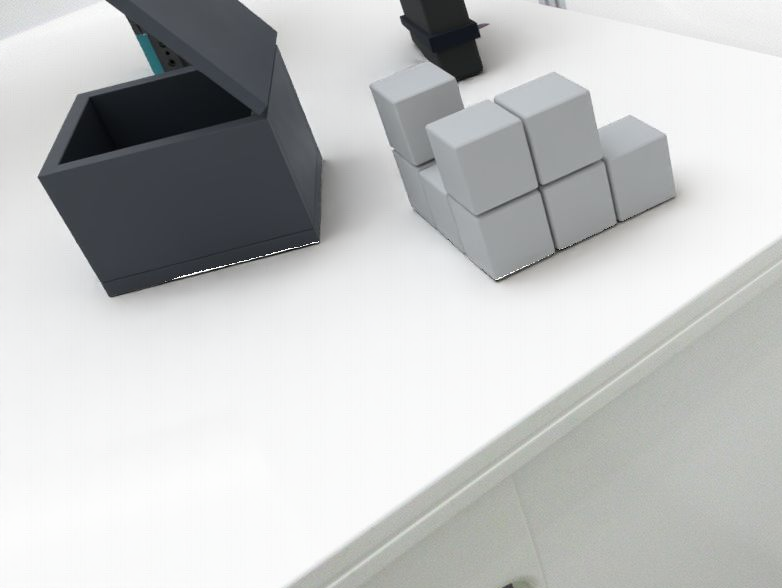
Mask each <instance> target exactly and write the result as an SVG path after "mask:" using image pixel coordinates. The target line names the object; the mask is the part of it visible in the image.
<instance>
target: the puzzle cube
mask: <svg viewBox="0 0 782 588" xmlns="http://www.w3.org/2000/svg"><path fill="white" fill-rule="evenodd" d="M369 89H370V92H371V95H372V99H373V101H374V103H375V106H376V110H377V112H378V115H379V118H380V121H381V124H382V126H383V129H384V132H385V135H386V138H387V140H388V143H389V146H390V147H391V148H392V149H393V150H392V155H393V157H394V161H395V164H396V166H397V169H398V172H399V175H400V178H401V181H402V183H403V187H404V190H405V192H406V195H407V198H408V200H409V204H410V206H411V208H412V209H413V210H415V211H416V212H417V213H418V214H419V215H420V216H422V218H424V219H425V220H426V221H427V222H428V223H429V224H430V223H431V224H430V225H432V227H433V228H435V227H436V228H435V229H437V231H438V232H439V233H440V234H441V235H443V236H444V237H445V238H446V239H447V240H448V239H449V240H450V241H449V240H448V241H449V242H450V243H452V244H453V246H455V247H456V248H457V249H458V250H459V251H460V252H462V253H463V254H465V256H466V257H467V256H468V257H469V258H468V257H467V258H468V259H469V260H470V261H472V263H474V262H475V263H476V264H477V265H478V266H477V265H476V264H475V263H474V264H475V265H476V266H477V267H479V268H480V267H481V268H482V269H483V270H484V271H485V272H486V273H487V274H486V273H485V272H484V271H483V270H482V269H481V268H480V269H481V270H482V271H483V272H484V273H485V274H486V275H487V276H489V275H490V276H491V277H492V278H493V279H498V278H499V277H503V276H504V275H507V274H510V272H513V271H516V270H517V269H520V268H522V267H523V266H526V265H529V264H531V263H533V262H536V261H538V260H541V259H542V258H544V257H546V256H548V255H551V254H552V253H554V254H555V253H556V250H557V249H562V248H565V247H568V246H570V245H572V246H574V245H575V244H574V243H576V244H578V243H580V242H582V240H583V239H585V240H586V238H587V237H589V238H591V237H593V236H595V235H597V234H600V233H602V232H604V231H605V230H604V229H606V230H608V229H610V228H612V227H613V226H616V225H617V223H618V221H619V222H621V221H622V222H625V221H626V219H627V220H629V219H631V218H633V217H635V216H637V215H639V214H641V213H643V212H646V211H648V210H650V209H652V208H654V207H656V206H658V205H660V204H663V203H664V202H667V201H668V200H671V199H672V198H675V197H676V195H677V191H676V186H675V179H674V173H673V165H672V161H671V153H670V148H669V147H670V146H669V143H668V136H667V134H666V133H665V132H663V131H661V130H659V129H657V128H655V127H653V126H652V125H650V124H648V123H647V122H644V121H642V120H641V119H639V118H637V117H635V116H634V115H633V114H632V115H631V114H628V115H626V116H623V117H622V118H619V119H617V120H615V121H613V122H611V123H608V124H606V125H604V126H601V127H599V128H598V125H597V119H596V116H595V110H594V106H593V105H594V104H593V101H592V96H591V92H590V90H589V89H587V88H585V87H584V86H582V85H580V84H578V83H576V82H574V81H573V80H571V79H569V78H567V77H566V76H564V75H562V74H560V73H558V72H556V71H552V72H549V73H547V74H544V75H542V76H540V77H538V78H535V79H533V80H530V81H528V82H526V83H523V84H521V85H518V86H516V87H514V88H512V89H509V90H507V91H506V90H505V91H504V92H501V93H499V94H497V95H495V96H493V100H491V99H488V98H487V99H485V100H483V101H480V102H477V103H475V104H473V105H470V106H468V107H466V108H465V106H464V102H463V98H462V95H461V92H460V88H459V84H458V80H457V81H456V79H455V77H453V76H452V75H450V74H449V73H447V72H445V71H444V70H442V69H441V68H439V67H438V66H436V65H434V64H433V63H431V62H430V61H429V60H425V61H423V62H421V63H418V64H416V65H413V66H410V67H408V68H406V69H403V70H401V71H398V72H395V73H393V74H391V75H388V76H386V77H383V78H379V79H378V80H376V81H373V82H371V83H370V84H369ZM647 209H648V210H647ZM634 215H635V216H634ZM630 217H631V218H630ZM628 218H629V219H628ZM624 220H625V221H624ZM615 224H616V225H615ZM611 226H612V227H611ZM609 227H610V228H609ZM607 228H608V229H607ZM603 230H604V231H603ZM596 233H597V234H596ZM594 234H595V235H594ZM592 235H593V236H592ZM590 236H591V237H590ZM587 239H588V238H587ZM579 241H580V242H579ZM583 241H584V240H583ZM577 242H578V243H577ZM573 244H574V245H573ZM570 247H571V246H570ZM568 248H569V247H568ZM551 256H552V255H551ZM541 261H542V260H541ZM538 262H539V261H538ZM536 263H537V262H536ZM490 276H489V277H490ZM491 277H490V278H491ZM492 278H491V279H492ZM493 279H492V280H493Z"/></svg>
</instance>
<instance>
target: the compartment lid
mask: <svg viewBox="0 0 782 588" xmlns="http://www.w3.org/2000/svg"><path fill="white" fill-rule="evenodd" d="M104 1H105V2H107V3H108V4H109V5H111V7H113V8H115V9H116V10H117V11H119V12H120V13H121V14H123V15H124V16H125V15H126V16H127V17H128V18H130V19H131V20H132V21H134V22H135V23H136V24H138V25H139V26H140V27H142V28H143V29H144V30H146V31H147V32H148V33H150V34H151V35H152V36H154V37H155V38H156V39H158V40H159V41H160V42H162V43H163V44H164V45H166V46H167V47H168V48H170V49H171V50H172V51H174V52H175V53H176V54H178V55H179V56H180V57H182V58H183V59H184V60H186V61H187V62H188V63H190V64H191V65H192V66H194V67H195V68H196V69H198V70H199V71H200V72H202V73H203V74H204V75H206V76H207V77H208V78H210V79H211V80H212V81H214V82H215V83H216V84H218V85H219V86H220V87H222V88H223V89H224V90H226V91H227V92H228V93H230V94H231V95H232V96H234V97H235V98H236V99H238V100H239V101H240V102H242V103H243V104H244V105H246V106H247V107H249V108H250V109H251V110H253V111H254V112H255V113H257V114H258V115H260V114H261V113H262V112H263V110H264V109H265V108H266V107H267V104H268V97H269V89H270V82H271V75H272V68H273V61H274V54H275V47H276V45H277V38H278V31H277V30H276V29H275V28H273V27H272V26H271V25H270V24H268V23H267V22H266V21H264V20H263V18H262V17H259V16H258V15H257V14H256V13H255V12H253V11H252V10H251V9H250V8H249V7H247V6H246V5H245V4H243V2H241V1H240V0H104ZM126 16H125V17H126Z"/></svg>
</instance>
